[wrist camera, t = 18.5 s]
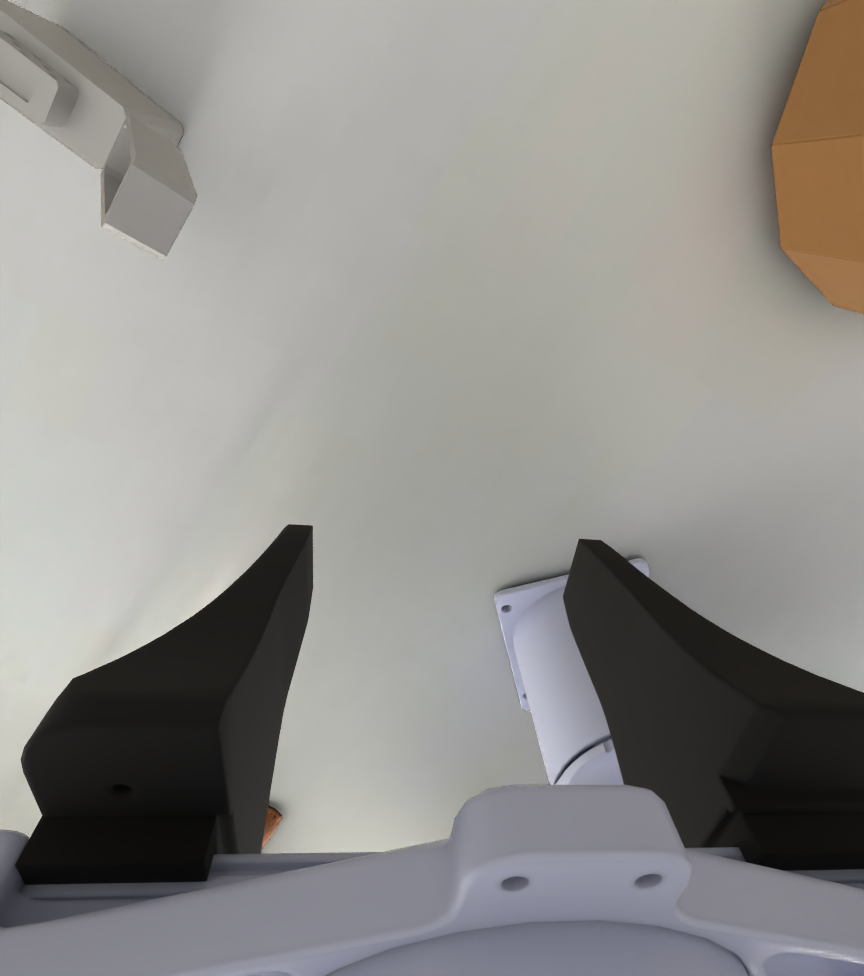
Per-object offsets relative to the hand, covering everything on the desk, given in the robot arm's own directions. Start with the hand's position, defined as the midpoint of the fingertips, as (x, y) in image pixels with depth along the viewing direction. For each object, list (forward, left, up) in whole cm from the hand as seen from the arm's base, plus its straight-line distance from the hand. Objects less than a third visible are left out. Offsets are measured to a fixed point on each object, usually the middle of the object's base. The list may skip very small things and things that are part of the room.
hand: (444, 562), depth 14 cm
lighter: (+12, +6, -10) cm, 17 cm away
